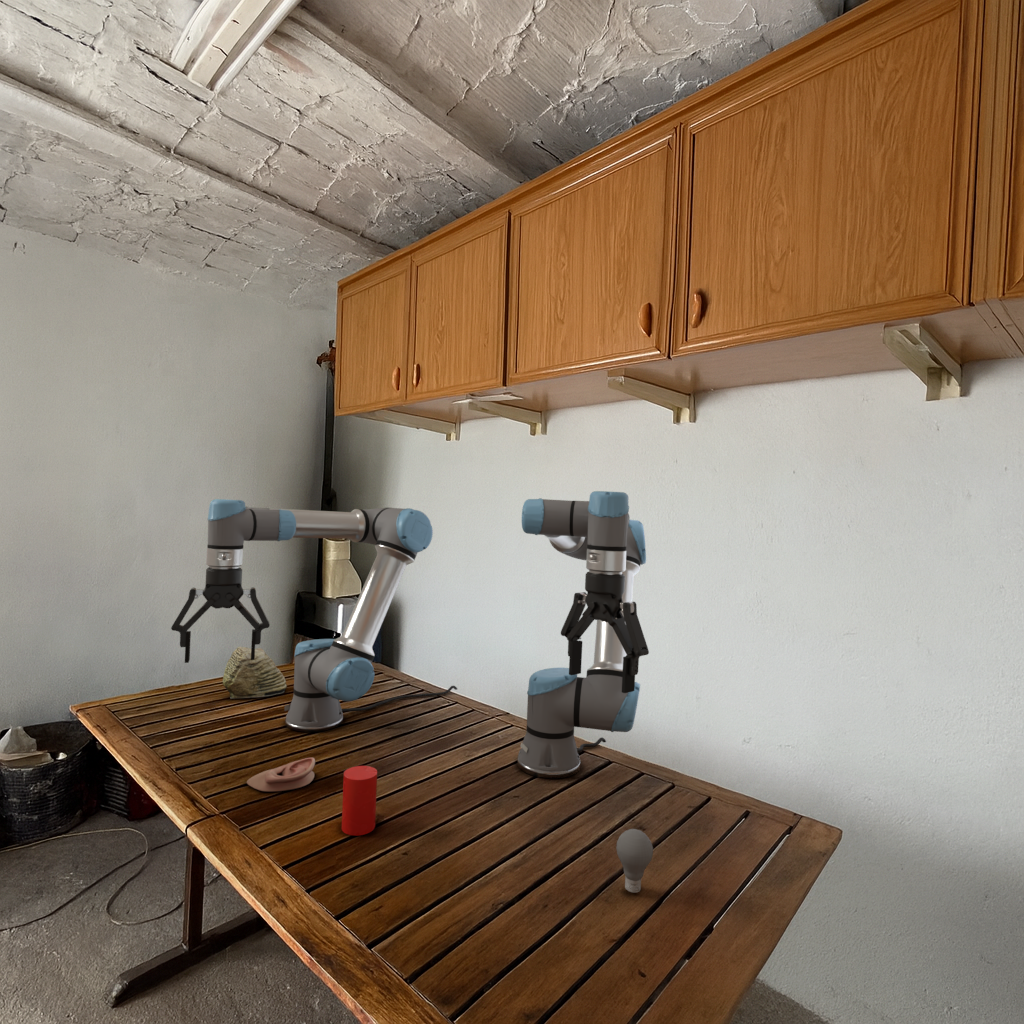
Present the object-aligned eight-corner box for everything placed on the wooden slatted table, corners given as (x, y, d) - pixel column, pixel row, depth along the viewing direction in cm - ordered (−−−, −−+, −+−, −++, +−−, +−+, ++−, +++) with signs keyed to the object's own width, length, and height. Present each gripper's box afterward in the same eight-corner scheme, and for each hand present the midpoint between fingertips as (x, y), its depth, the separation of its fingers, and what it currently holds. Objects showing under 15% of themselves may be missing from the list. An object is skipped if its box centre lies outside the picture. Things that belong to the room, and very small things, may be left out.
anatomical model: (238, 769, 136) (269, 749, 147) (238, 787, 136) (269, 766, 147) (295, 777, 133) (322, 756, 144) (294, 796, 133) (321, 773, 144)
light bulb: (610, 879, 108) (613, 822, 108) (644, 879, 109) (647, 822, 109) (619, 902, 102) (622, 840, 102) (655, 901, 103) (658, 840, 103)
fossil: (218, 695, 195) (220, 647, 195) (278, 685, 208) (279, 640, 207) (228, 703, 189) (230, 653, 188) (289, 692, 201) (290, 645, 201)
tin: (368, 816, 127) (370, 763, 126) (379, 830, 121) (382, 775, 121) (337, 823, 123) (339, 769, 123) (347, 838, 118) (349, 782, 118)
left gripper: (160, 568, 136) (155, 666, 136) (283, 569, 145) (279, 661, 146) (164, 564, 143) (160, 658, 143) (282, 565, 152) (278, 653, 153)
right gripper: (546, 565, 128) (541, 669, 129) (645, 581, 109) (639, 703, 109) (572, 564, 133) (568, 664, 133) (671, 579, 114) (666, 696, 114)
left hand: (220, 660), depth 144 cm, fingers open, 13 cm apart
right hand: (600, 682), depth 121 cm, fingers open, 13 cm apart
